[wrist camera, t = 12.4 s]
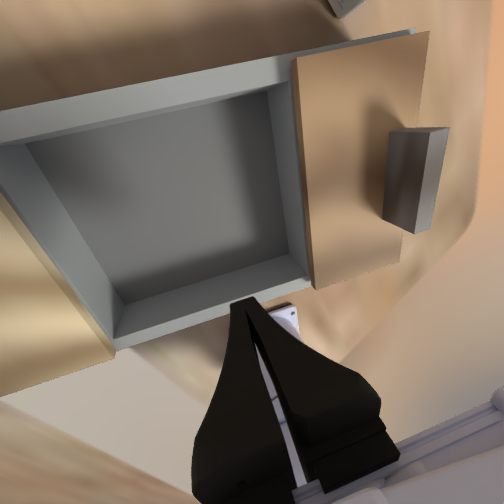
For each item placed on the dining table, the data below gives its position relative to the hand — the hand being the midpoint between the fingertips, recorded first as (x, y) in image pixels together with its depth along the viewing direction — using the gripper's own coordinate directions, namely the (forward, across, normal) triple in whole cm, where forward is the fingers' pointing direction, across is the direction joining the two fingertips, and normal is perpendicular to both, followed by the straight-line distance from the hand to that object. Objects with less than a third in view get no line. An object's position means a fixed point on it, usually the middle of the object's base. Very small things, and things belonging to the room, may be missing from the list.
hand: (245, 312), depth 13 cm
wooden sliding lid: (+5, -10, -3) cm, 12 cm away
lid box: (+10, +2, -3) cm, 11 cm away
